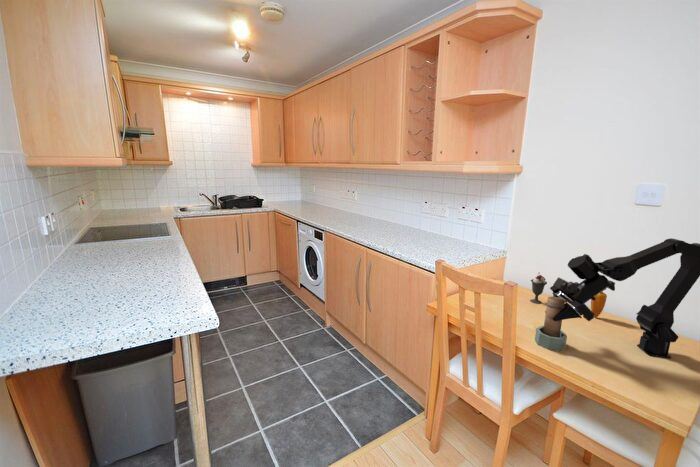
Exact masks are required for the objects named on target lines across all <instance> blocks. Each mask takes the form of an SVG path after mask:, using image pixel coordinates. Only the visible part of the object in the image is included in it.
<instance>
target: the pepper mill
mask: <svg viewBox="0 0 700 467" xmlns="http://www.w3.org/2000/svg"><path fill="white" fill-rule="evenodd" d="M564 304H565V300H563V299H561V298H558V297H553V296H548V297H547V301H546V308H545V311H546V313H545V315H544V324H543V326H544V329H543V333H544V334H545V335H548V336H550V337H560V331H562V324H563V320H559V321H554V320H553V319H552V318H553V317H554V316H555V315H556V314H558V313H559V312H560V311H561V310H562V309H563V308H564V307H565V305H564Z"/></svg>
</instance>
